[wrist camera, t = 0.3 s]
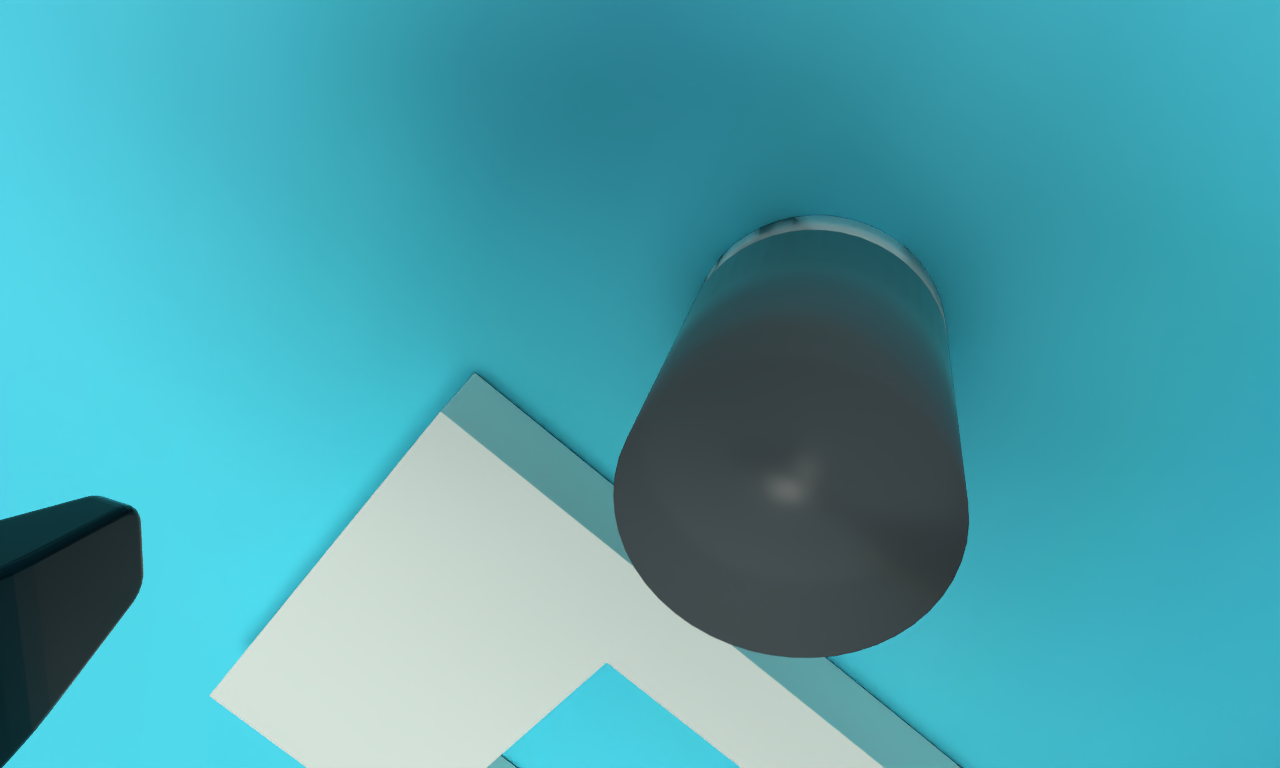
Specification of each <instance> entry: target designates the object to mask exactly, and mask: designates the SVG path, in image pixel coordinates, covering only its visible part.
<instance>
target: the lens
mask: <svg viewBox="0 0 1280 768" xmlns="http://www.w3.org/2000/svg"><path fill="white" fill-rule="evenodd" d="M613 498H614V513H615V518H616V523H617V527H618V532H619V535H620V537H621V540H622V543H623V546H624V548H625V551H626V553H627V555H628V557H629V559H630V560H631V562H632V564H633V566H634V568H635V569H636V571H637V572H638V574H639V575H640V577H641V578H642V580H643V581H644V582H645V584H646V585H647V586H648V587H649V588H650V590H651V591H652V592H653V593H654V594H655V595H656V596H657V597H658V599H659V600H661V601H662V602H663V603H664V604H665V605H666V606H667V607H668V608H669V609H671V610H672V611H673V612H674V613H675V614H677V615H678V616H679V617H681V618H682V619H684V620H685V621H686V622H688V623H689V624H691V625H692V626H694V627H696V628H697V629H699V630H701V631H703V632H704V633H706V634H708V635H710V636H712V637H714V638H716V639H719V640H721V641H723V642H726V643H728V644H730V645H733V646H737V647H740V648H743V649H746V650H749V651H753V652H758V653H762V654H767V655H772V656H781V657H790V658H819V657H829V656H837V655H842V654H847V653H852V652H856V651H860V650H863V649H866V648H869V647H872V646H875V645H877V644H880V643H882V642H884V641H886V640H888V639H890V638H892V637H894V636H896V635H898V634H900V633H901V632H903V631H904V630H906V629H907V628H909V627H911V626H912V625H914V624H915V623H916V622H917V621H918V620H919V619H921V618H922V617H923V616H924V615H925V614H927V613H928V612H929V611H930V610H931V609H932V608H933V606H934V605H935V604H936V603H937V602H938V601H939V600H940V599H941V597H942V596H943V595H944V593H945V592H946V590H947V589H948V587H949V586H950V584H951V583H952V581H953V579H954V577H955V575H956V573H957V571H958V568H959V566H960V564H961V562H962V558H963V555H964V551H965V547H966V544H967V536H968V527H969V514H968V499H967V491H966V483H965V475H964V467H963V459H962V451H961V443H960V434H959V426H958V418H957V410H956V402H955V394H954V386H953V378H952V370H951V362H950V354H949V346H948V338H947V330H946V322H945V316H944V311H943V306H942V302H941V299H940V297H939V294H938V291H937V289H936V286H935V285H934V283H933V281H932V279H931V277H930V275H929V274H928V272H927V271H926V270H925V268H924V267H923V266H922V264H921V263H920V261H919V260H918V259H917V258H916V257H915V256H914V255H913V254H912V253H911V252H910V251H909V250H908V249H907V248H906V247H905V246H903V245H902V244H901V243H899V242H898V241H897V240H895V239H894V238H893V237H891V236H889V235H888V234H886V233H884V232H882V231H881V230H879V229H877V228H874V227H872V226H870V225H867V224H865V223H862V222H859V221H855V220H851V219H848V218H843V217H836V216H829V215H807V216H798V217H792V218H788V219H783V220H779V221H776V222H773V223H771V224H768V225H765V226H763V227H760V228H759V229H757V230H755V231H753V232H751V233H749V234H748V235H746V236H745V237H743V238H742V239H740V240H739V241H738V242H736V243H735V244H733V245H732V246H731V247H730V248H729V249H728V250H727V251H726V252H725V253H724V254H723V255H722V256H721V257H720V259H719V260H718V261H717V262H716V264H715V265H714V266H713V267H712V269H711V271H710V272H709V274H708V276H707V277H706V279H705V281H704V283H703V285H702V287H701V289H700V291H699V293H698V295H697V297H696V299H695V301H694V303H693V305H692V307H691V309H690V311H689V313H688V315H687V317H686V319H685V321H684V323H683V325H682V327H681V329H680V331H679V333H678V336H677V338H676V340H675V342H674V344H673V346H672V348H671V350H670V352H669V354H668V356H667V358H666V360H665V362H664V364H663V366H662V368H661V370H660V372H659V374H658V376H657V378H656V380H655V382H654V384H653V386H652V388H651V390H650V392H649V394H648V396H647V398H646V401H645V403H644V405H643V407H642V409H641V411H640V413H639V415H638V417H637V419H636V421H635V423H634V425H633V427H632V429H631V431H630V433H629V435H628V437H627V439H626V442H625V444H624V446H623V449H622V451H621V454H620V456H619V460H618V464H617V468H616V473H615V479H614V491H613Z"/></svg>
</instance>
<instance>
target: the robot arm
mask: <svg viewBox="0 0 1280 768" xmlns="http://www.w3.org/2000/svg"><path fill="white" fill-rule="evenodd" d="M142 580H143V557H142V537H141V520H140V516H139V514H138V512H137V511H136V509H135V508H133V507H132V506H130V505H127V504H124V503H121V502H118V501H115V500H112V499H109V498H105V497H102V496H88V497H84V498H80V499H77V500H73V501H69V502H66V503H62V504H58V505H55V506H51V507H47V508H43V509H40V510H36V511H32V512H29V513H25V514H21V515H18V516H14V517H10V518H6V519H3V520H0V768H2V767H3V766H4V765H5V764H6V763H7V762H8V761H9V759H10V758H11V757H12V756H13V755H14V754H15V753H16V752H17V751H18V749H19V748H20V747H21V746H22V745H23V744H24V743H25V741H26V740H27V739H28V738H29V737H30V736H31V735H32V734H33V732H34V731H35V730H36V729H37V727H38V726H39V725H40V724H41V722H42V721H43V720H44V719H45V717H46V716H47V715H48V714H49V713H50V711H51V710H52V709H53V707H54V706H55V705H56V703H57V702H58V701H59V699H60V698H61V697H62V695H63V694H64V693H65V692H66V690H67V689H68V688H69V686H70V685H71V684H72V682H73V681H74V680H75V678H76V677H77V676H78V674H79V673H80V672H81V670H82V669H83V668H84V666H85V665H86V664H87V663H88V661H89V660H90V659H91V657H92V656H93V655H94V653H95V652H96V651H97V649H98V648H99V647H100V645H101V644H102V643H103V641H104V640H105V639H106V637H107V636H108V635H109V633H110V632H111V631H112V630H113V628H114V627H115V626H116V624H117V623H118V622H119V620H120V619H121V618H122V616H123V615H124V614H125V612H126V611H127V610H128V608H129V607H130V606H131V604H132V603H133V602H134V600H135V598H136V597H137V595H138V593H139V590H140V588H141V585H142Z"/></svg>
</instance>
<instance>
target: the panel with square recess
mask: <svg viewBox="0 0 1280 768" xmlns="http://www.w3.org/2000/svg"><path fill="white" fill-rule="evenodd" d="M613 491H614V485H612V484H611V483H610V482H609V481H608V480H606V479H605V478H604V477H603V476H601V475H600V474H599V473H598V472H596V471H595V470H594V469H593V468H592V467H590V466H589V465H588V464H587V463H585V462H584V461H583V460H582V459H580V458H579V457H578V456H577V455H576V454H574V453H573V452H572V451H571V450H569V449H568V448H567V447H566V446H564V445H563V444H562V443H561V442H560V441H558V440H557V439H556V438H555V437H553V436H552V435H551V434H550V433H548V432H547V431H546V430H545V429H544V428H542V427H541V426H540V425H539V424H537V423H536V422H535V421H534V420H532V419H531V418H530V417H529V416H528V415H526V414H525V413H524V412H523V411H521V410H520V409H519V408H518V407H516V406H515V405H514V404H513V403H512V402H510V401H509V400H508V399H507V398H505V397H504V396H503V395H502V394H500V393H499V392H498V391H497V390H496V389H494V388H493V387H492V386H491V385H489V384H488V383H487V382H486V381H484V380H483V379H482V378H481V377H480V376H478V375H477V374H476V373H474V374H473V375H472V376H471V377H470V378H469V380H468V381H467V382H466V383H465V384H464V385H463V386H462V387H461V389H460V390H459V391H458V392H457V393H456V394H455V395H454V397H453V398H452V399H451V400H450V401H449V402H448V403H447V405H446V406H445V407H444V408H443V409H442V410H441V411H440V413H439V414H438V415H437V416H436V418H435V419H434V420H433V421H432V422H431V424H430V425H429V426H428V427H427V429H426V430H425V431H424V432H423V433H422V435H421V436H420V437H419V438H418V440H417V441H416V442H415V443H414V445H413V446H412V447H411V448H410V449H409V451H408V452H407V453H406V454H405V456H404V457H403V458H402V459H401V461H400V462H399V463H398V464H397V465H396V467H395V468H394V469H393V470H392V472H391V473H390V474H389V475H388V477H387V478H386V479H385V480H384V481H383V483H382V484H381V485H380V486H379V488H378V489H377V490H376V491H375V493H374V494H373V495H372V496H371V497H370V499H369V500H368V501H367V502H366V504H365V505H364V506H363V507H362V509H361V510H360V511H359V512H358V513H357V515H356V516H355V517H354V518H353V520H352V521H351V522H350V523H349V525H348V526H347V527H346V528H345V529H344V531H343V532H342V533H341V534H340V536H339V537H338V538H337V539H336V541H335V542H334V543H333V544H332V545H331V547H330V548H329V549H328V550H327V552H326V553H325V554H324V555H323V557H322V558H321V559H320V560H319V561H318V563H317V564H316V565H315V566H314V568H313V569H312V570H311V571H310V573H309V574H308V575H307V576H306V577H305V579H304V580H303V581H302V582H301V584H300V585H299V586H298V587H297V589H296V590H295V591H294V592H293V593H292V595H291V596H290V597H289V598H288V600H287V601H286V602H285V603H284V604H283V606H282V607H281V608H280V609H279V611H278V612H277V613H276V614H275V616H274V617H273V618H272V619H271V620H270V622H269V623H268V624H267V625H266V627H265V628H264V629H263V630H262V632H261V633H260V634H259V635H258V636H257V638H256V639H255V640H254V641H253V643H252V644H251V645H250V646H249V648H248V649H247V650H246V651H245V652H244V654H243V655H242V656H241V657H240V659H239V660H238V661H237V662H236V664H235V665H234V666H233V667H232V668H231V670H230V671H229V672H228V673H227V675H226V676H225V677H224V678H223V680H222V681H221V682H220V683H219V684H218V686H217V687H216V688H215V689H214V691H213V692H212V693H211V694H210V697H212V698H213V699H214V700H216V701H217V702H218V703H220V704H221V705H223V706H224V707H225V708H227V709H228V710H229V711H231V712H232V713H233V714H235V715H236V716H237V717H239V718H240V719H242V720H243V721H244V722H246V723H247V724H248V725H250V726H251V727H252V728H254V729H255V730H256V731H258V732H259V733H261V734H262V735H263V736H265V737H266V738H267V739H269V740H270V741H271V742H273V743H274V744H275V745H277V746H278V747H280V748H281V749H282V750H284V751H285V752H286V753H288V754H289V755H290V756H292V757H293V758H294V759H296V760H297V761H299V762H300V763H301V764H303V765H304V766H305V767H307V768H516V767H515V766H514V765H512V764H511V763H510V762H508V761H507V760H506V759H505V758H503V757H502V756H501V754H503V753H504V752H505V751H506V750H507V749H508V748H509V747H510V746H512V745H513V744H514V743H515V742H516V741H517V740H518V739H520V738H521V737H522V736H523V735H524V734H525V733H526V732H528V731H529V730H530V729H531V728H532V727H533V726H534V725H536V724H537V723H538V722H539V721H540V720H541V719H542V718H544V717H545V716H546V715H547V714H548V713H549V712H550V711H552V710H553V709H554V708H555V707H556V706H557V705H558V704H559V703H561V702H562V701H563V700H564V699H565V698H566V697H567V696H569V695H570V694H571V693H572V692H573V691H574V690H575V689H577V688H578V687H579V686H580V685H581V684H582V683H583V682H585V681H586V680H587V679H588V678H589V677H590V676H591V675H593V674H594V673H595V672H596V671H597V670H598V669H599V668H601V667H602V666H603V665H604V664H605V663H606V662H607V663H608V664H609V665H611V666H612V667H613V668H615V669H616V670H617V671H618V672H620V673H621V674H622V675H623V676H625V677H626V678H627V679H629V680H630V681H631V682H632V683H634V684H635V685H636V686H637V687H639V688H640V689H641V690H643V691H644V692H645V693H646V694H648V695H649V696H650V697H651V698H653V699H654V700H655V701H657V702H658V703H659V704H660V705H662V706H663V707H664V708H665V709H667V710H668V711H669V712H671V713H672V714H673V715H674V716H676V717H677V718H678V719H679V720H681V721H682V722H683V723H685V724H686V725H687V726H688V727H690V728H691V729H692V730H693V731H695V732H696V733H697V734H699V735H700V736H701V737H702V738H704V739H705V740H706V741H707V742H709V743H710V744H711V745H713V746H714V747H715V748H716V749H718V750H719V751H720V752H721V753H723V754H724V755H725V756H727V757H728V758H729V759H730V760H732V761H733V762H734V763H736V764H737V765H738V766H739V767H741V768H961V767H959V766H958V765H957V764H956V763H955V762H953V761H952V760H951V759H950V758H948V757H947V756H946V755H945V754H943V753H942V752H941V751H940V750H939V749H937V748H936V747H935V746H934V745H932V744H931V743H930V742H929V741H927V740H926V739H925V738H924V737H923V736H921V735H920V734H919V733H918V732H916V731H915V730H914V729H913V728H911V727H910V726H909V725H908V724H907V723H905V722H904V721H903V720H902V719H900V718H899V717H898V716H897V715H895V714H894V713H893V712H892V711H891V710H889V709H888V708H887V707H886V706H884V705H883V704H882V703H881V702H879V701H878V700H877V699H876V698H875V697H873V696H872V695H871V694H870V693H868V692H867V691H866V690H865V689H863V688H862V687H861V686H860V685H859V684H857V683H856V682H855V681H854V680H852V679H851V678H850V677H849V676H847V675H846V674H845V673H844V672H843V671H841V670H840V669H839V668H838V667H836V666H835V665H834V664H833V663H831V662H830V661H829V660H828V659H827V658H825V657H819V658H790V657H781V656H772V655H767V654H762V653H758V652H753V651H749V650H746V649H743V648H740V647H737V646H733V645H730V644H728V643H726V642H723V641H721V640H719V639H716V638H714V637H712V636H710V635H708V634H706V633H704V632H703V631H701V630H699V629H697V628H696V627H694V626H692V625H691V624H689V623H688V622H686V621H685V620H684V619H682V618H681V617H679V616H678V615H677V614H675V613H674V612H673V611H672V610H671V609H669V608H668V607H667V606H666V605H665V604H664V603H663V602H662V601H661V600H659V599H658V597H657V596H656V595H655V594H654V593H653V592H652V591H651V590H650V588H649V587H648V586H647V585H646V584H645V582H644V581H643V580H642V578H641V577H640V575H639V574H638V572H637V571H636V569H635V568H634V566H633V564H632V562H631V560H630V559H629V557H628V555H627V553H626V551H625V548H624V546H623V543H622V540H621V537H620V535H619V532H618V527H617V523H616V518H615V513H614V498H613Z"/></svg>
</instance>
